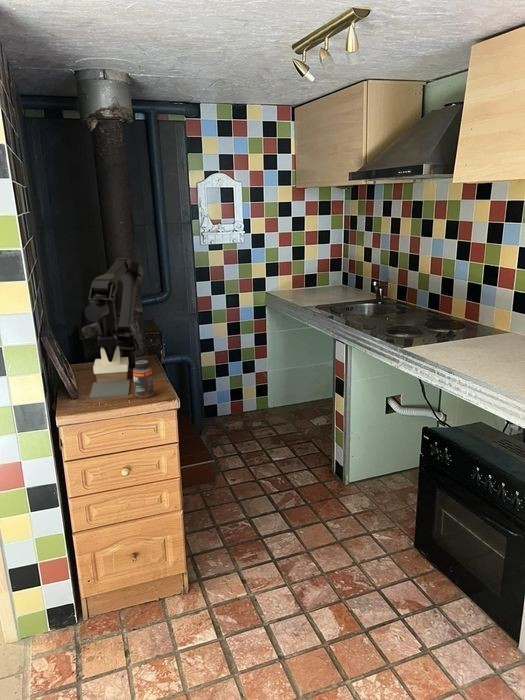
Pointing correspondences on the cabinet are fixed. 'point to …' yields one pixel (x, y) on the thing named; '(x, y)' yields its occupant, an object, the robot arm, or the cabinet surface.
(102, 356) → the lid
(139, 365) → the supplement bottle
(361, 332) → the cabinet surface
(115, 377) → the storage box
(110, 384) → the mat
